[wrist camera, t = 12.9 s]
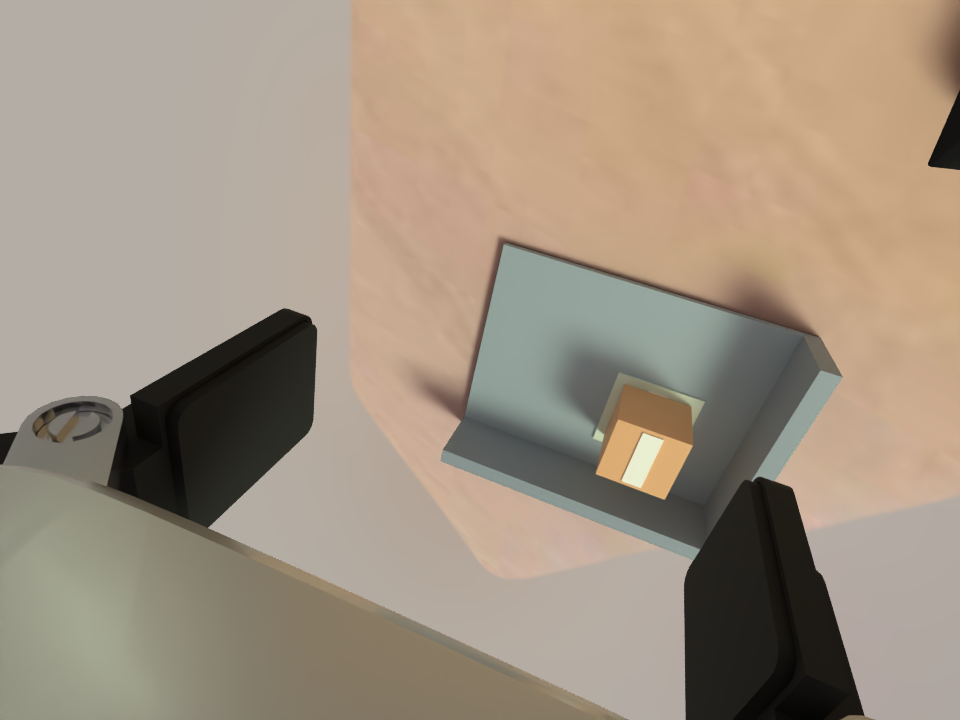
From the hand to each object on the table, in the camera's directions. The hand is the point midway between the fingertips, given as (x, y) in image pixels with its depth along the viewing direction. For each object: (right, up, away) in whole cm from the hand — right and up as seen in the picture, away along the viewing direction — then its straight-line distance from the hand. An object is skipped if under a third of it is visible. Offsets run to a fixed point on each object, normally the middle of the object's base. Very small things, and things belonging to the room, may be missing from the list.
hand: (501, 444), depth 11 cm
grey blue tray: (+10, 0, +30) cm, 31 cm away
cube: (+12, -3, +29) cm, 32 cm away
